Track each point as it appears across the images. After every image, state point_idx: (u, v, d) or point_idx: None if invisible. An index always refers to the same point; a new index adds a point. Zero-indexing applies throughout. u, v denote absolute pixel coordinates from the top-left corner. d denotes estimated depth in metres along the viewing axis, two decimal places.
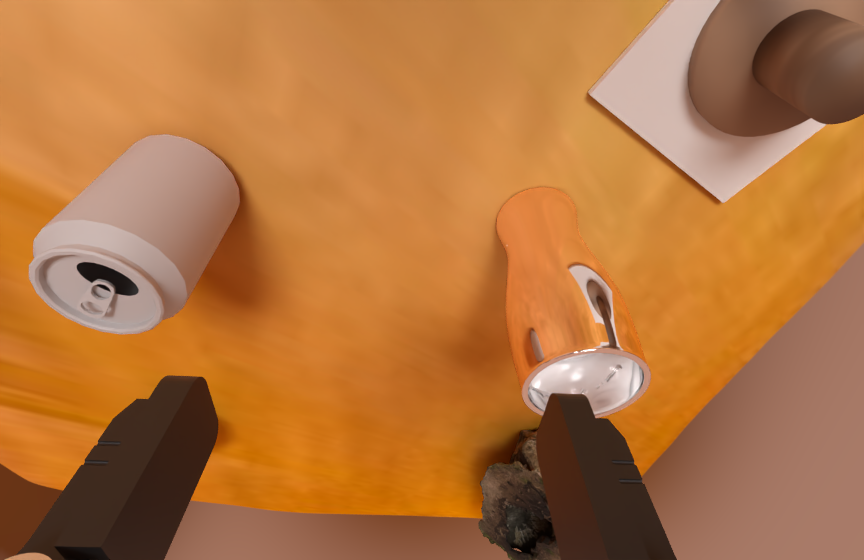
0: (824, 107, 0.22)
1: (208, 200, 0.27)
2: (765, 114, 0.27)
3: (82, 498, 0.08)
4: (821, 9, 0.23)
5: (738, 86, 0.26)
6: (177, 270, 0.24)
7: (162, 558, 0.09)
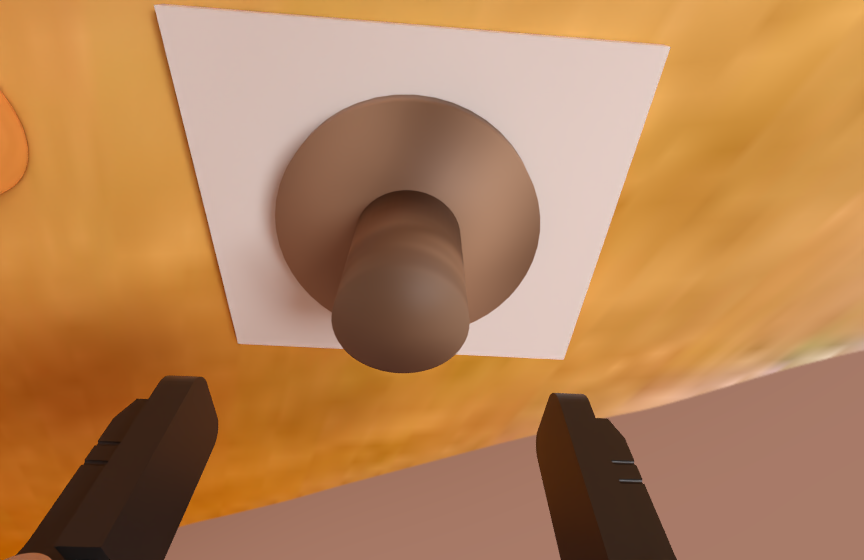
0: (352, 323, 0.13)
1: None
2: (338, 282, 0.18)
3: (82, 498, 0.08)
4: (459, 224, 0.17)
5: (335, 218, 0.16)
6: None
7: (162, 558, 0.09)
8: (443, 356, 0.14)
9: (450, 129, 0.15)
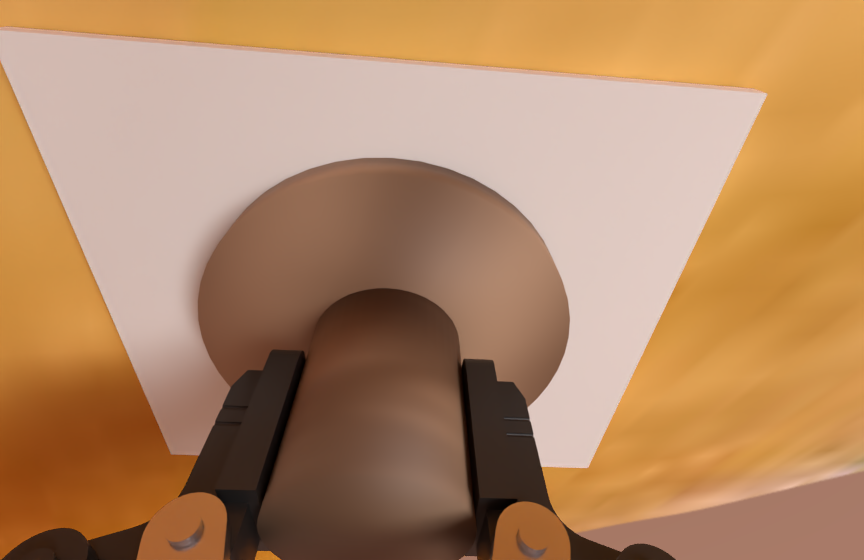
0: (291, 534, 0.08)
1: None
2: None
3: (222, 453, 0.08)
4: (457, 328, 0.12)
5: (283, 323, 0.12)
6: None
7: None
8: None
9: (444, 211, 0.10)
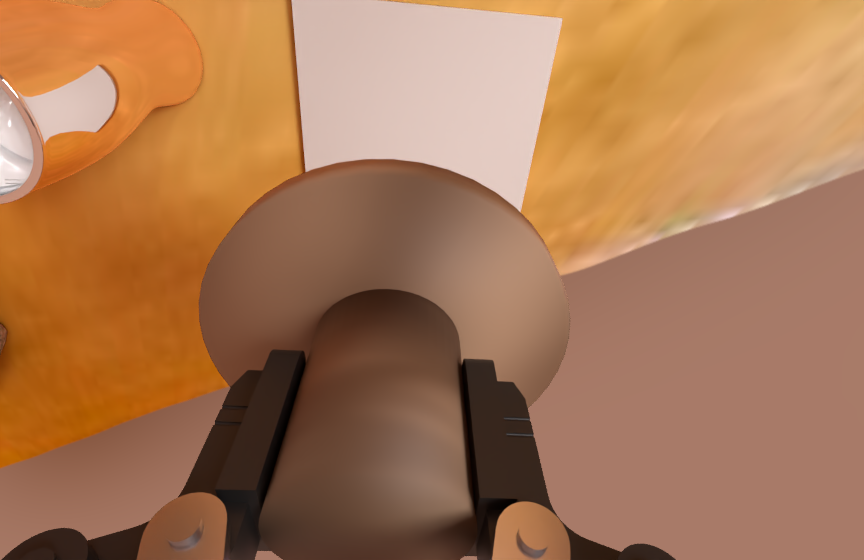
0: (292, 534, 0.08)
1: None
2: None
3: (222, 453, 0.08)
4: (457, 329, 0.12)
5: (284, 324, 0.12)
6: None
7: None
8: None
9: (445, 212, 0.10)
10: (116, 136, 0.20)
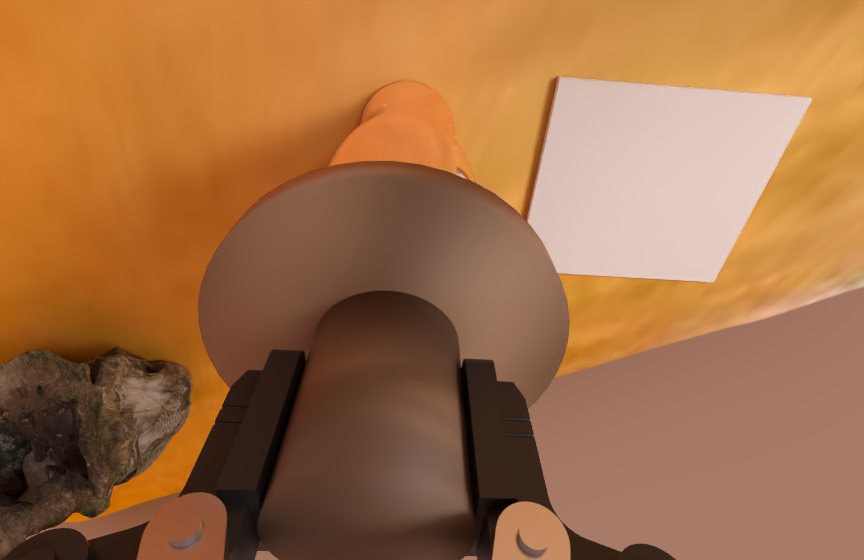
0: (291, 536, 0.08)
1: None
2: None
3: (222, 452, 0.08)
4: (457, 331, 0.12)
5: (283, 325, 0.12)
6: None
7: None
8: None
9: (444, 213, 0.10)
10: None
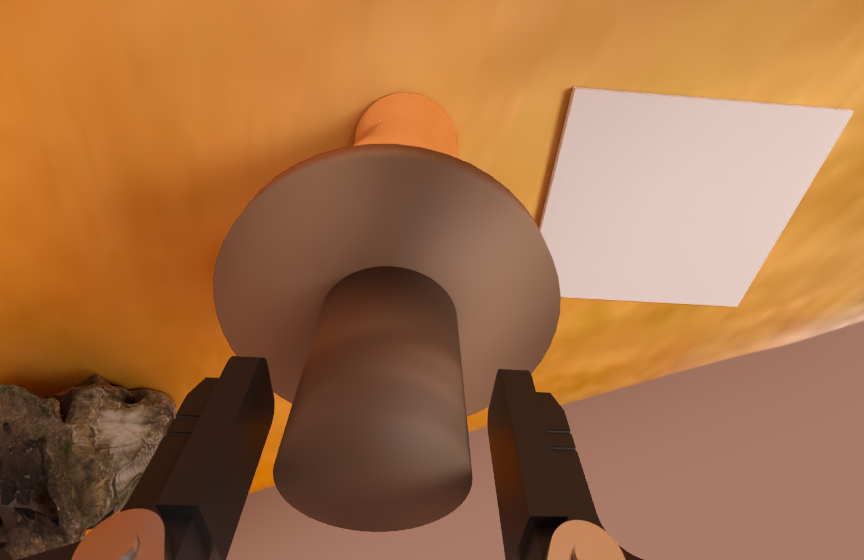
0: (303, 481, 0.09)
1: None
2: (302, 372, 0.14)
3: (170, 465, 0.08)
4: (455, 305, 0.13)
5: (293, 300, 0.13)
6: None
7: (236, 524, 0.09)
8: (435, 514, 0.10)
9: (443, 192, 0.11)
10: None
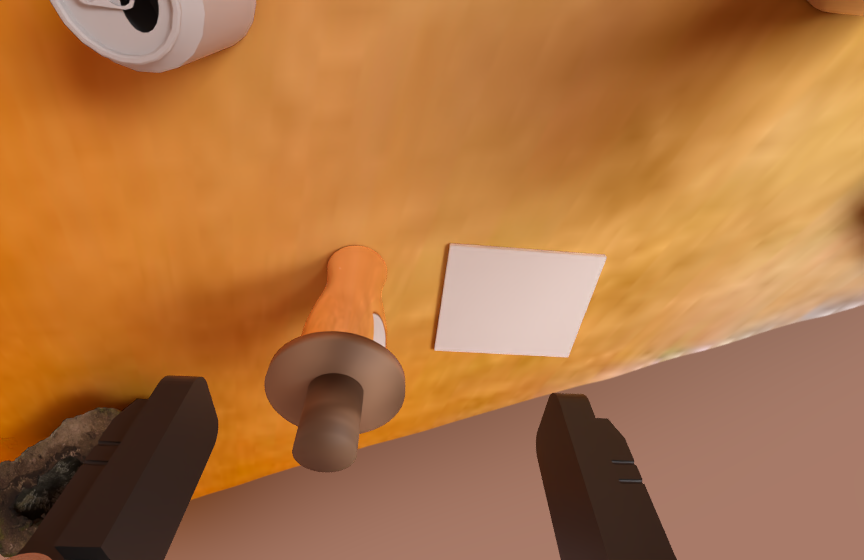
0: (302, 453, 0.28)
1: (230, 36, 0.29)
2: (298, 411, 0.33)
3: (82, 498, 0.08)
4: (362, 386, 0.32)
5: (296, 384, 0.31)
6: (187, 58, 0.25)
7: (162, 558, 0.09)
8: (346, 465, 0.29)
9: (353, 350, 0.30)
10: None
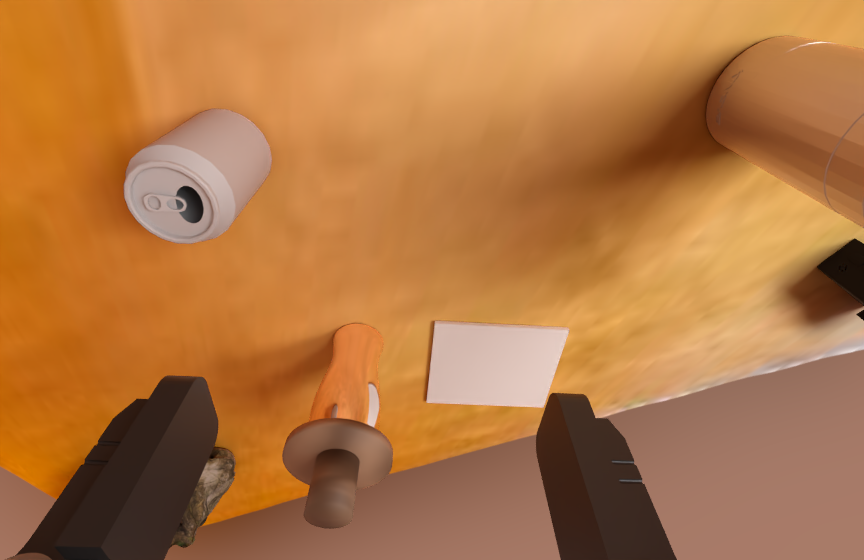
0: (311, 516, 0.37)
1: None
2: (309, 474, 0.42)
3: (82, 498, 0.08)
4: (358, 457, 0.40)
5: (307, 456, 0.40)
6: (222, 232, 0.33)
7: (162, 558, 0.09)
8: (345, 523, 0.37)
9: (349, 433, 0.39)
10: None
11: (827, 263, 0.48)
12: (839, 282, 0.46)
